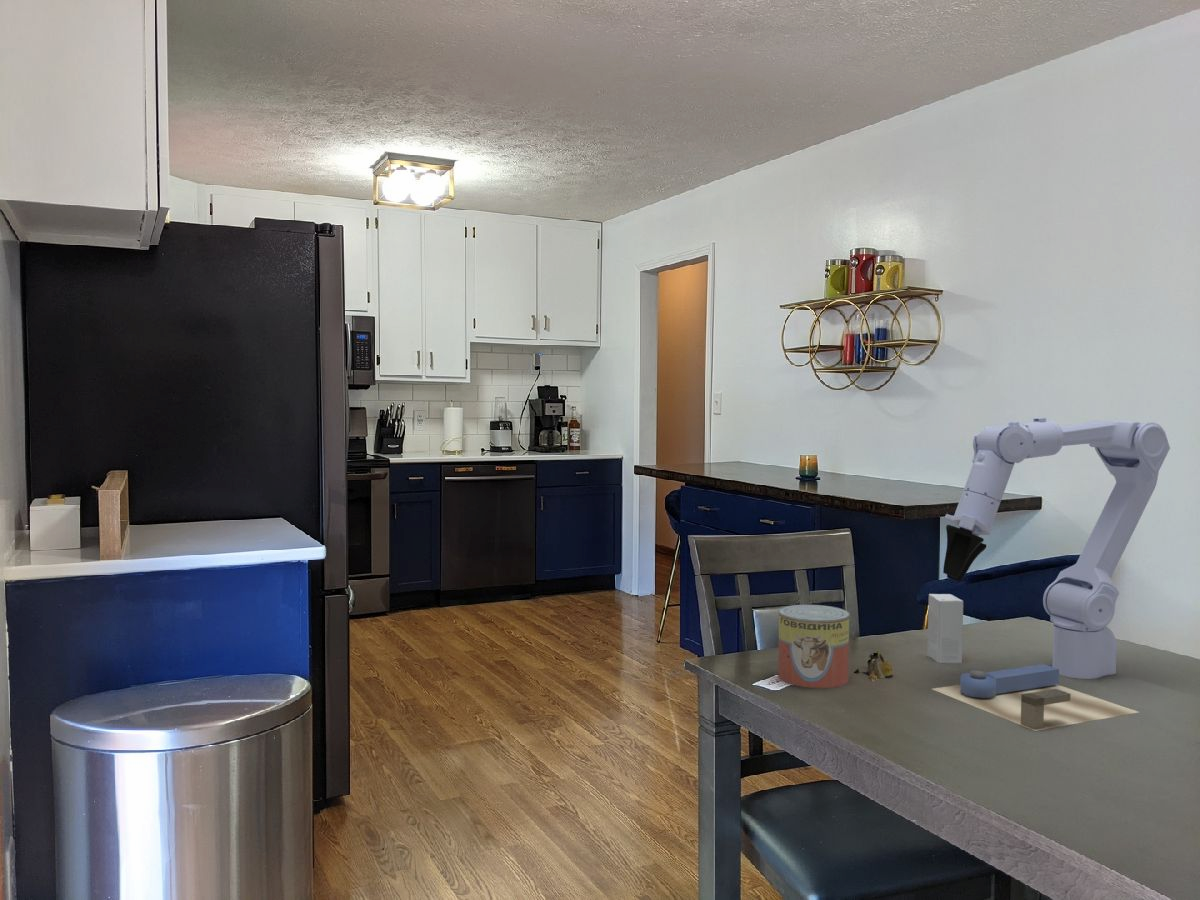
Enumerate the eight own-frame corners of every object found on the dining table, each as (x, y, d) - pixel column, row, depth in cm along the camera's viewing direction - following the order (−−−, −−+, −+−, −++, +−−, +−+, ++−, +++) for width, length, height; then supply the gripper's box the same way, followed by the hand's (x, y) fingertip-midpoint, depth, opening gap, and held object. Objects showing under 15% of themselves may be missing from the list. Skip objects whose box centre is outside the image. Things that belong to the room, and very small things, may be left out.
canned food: (774, 692, 147) (775, 617, 146) (780, 672, 158) (781, 602, 157) (848, 698, 144) (849, 622, 143) (849, 678, 155) (850, 606, 154)
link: (977, 699, 138) (977, 678, 138) (953, 690, 143) (953, 669, 143) (1064, 686, 145) (1064, 665, 145) (1038, 677, 150) (1038, 657, 149)
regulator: (879, 706, 143) (903, 666, 155) (870, 682, 143) (895, 644, 155) (835, 713, 147) (862, 673, 159) (825, 690, 147) (853, 652, 159)
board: (1027, 681, 152) (1027, 674, 152) (1139, 720, 134) (1139, 712, 134) (931, 696, 145) (931, 688, 145) (1035, 739, 126) (1035, 730, 126)
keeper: (1055, 726, 131) (1056, 688, 131) (1069, 732, 129) (1070, 693, 129) (1020, 732, 129) (1021, 694, 128) (1034, 738, 127) (1035, 699, 126)
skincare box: (963, 670, 159) (964, 600, 158) (937, 669, 159) (939, 600, 159) (950, 660, 165) (951, 593, 165) (926, 660, 165) (927, 593, 165)
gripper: (958, 496, 155) (930, 572, 154) (952, 480, 142) (921, 563, 141) (1002, 510, 152) (973, 588, 151) (1000, 495, 139) (969, 580, 138)
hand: (951, 577), depth 146 cm, fingers open, 7 cm apart
